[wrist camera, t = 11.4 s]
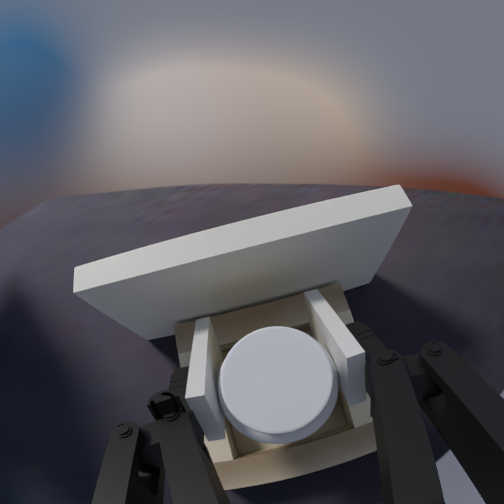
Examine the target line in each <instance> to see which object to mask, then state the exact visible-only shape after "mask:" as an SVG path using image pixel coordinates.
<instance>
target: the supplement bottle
mask: <svg viewBox="0 0 504 504" xmlns="http://www.w3.org/2000/svg"><path fill="white" fill-rule="evenodd" d="M338 388H339V383H338V373H337V369H336V366H335V364H334V361H333V359H332V358H331V356H330V354H329V353H328V352H327V350H326V349H325V348H324V347H323V346H322V345H321V344H320V343H319V342H318V341H316V340H315V339H314V338H312V337H311V336H309V335H308V334H306V333H304V332H302V331H299V330H297V329H294V328H289V327H282V326H273V327H266V328H262V329H258V330H256V331H253V332H252V333H250V334H248V335H246V336H245V337H243V338H242V339H241V340H239V341H238V342H237V343H236V344H235V345H234V346H233V347H232V349H231V350H230V351H229V353H228V355H227V356H226V358H225V360H224V362H223V364H222V366H221V369H220V372H219V376H218V398H219V403H220V406H221V408H222V411H223V412H224V414H225V416H226V418H227V419H228V420H229V422H230V423H231V424H232V425H233V426H234V427H235V428H236V429H237V430H238V431H239V432H241V433H242V434H244V435H245V436H247V437H249V438H251V439H253V440H256V441H259V442H263V443H269V444H286V443H291V442H295V441H298V440H301V439H303V438H305V437H307V436H309V435H311V434H312V433H314V432H315V431H316V430H318V429H319V428H320V427H321V426H322V425H323V424H324V423H325V422H326V420H327V419H328V418H329V416H330V415H331V413H332V411H333V409H334V407H335V404H336V401H337V397H338Z"/></svg>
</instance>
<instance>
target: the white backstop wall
mask: <svg viewBox="0 0 504 504" xmlns="http://www.w3.org/2000/svg"><path fill="white" fill-rule="evenodd" d="M411 208H412V204H411V202H410V201H409V199H408V197H407V196H406V194H405V193H404V191H403V189H402V188H401V186H400V185H395V186H389V187H385V188H380V189H375V190H371V191H366V192H362V193H357V194H352V195H348V196H343V197H339V198H335V199H330V200H326V201H322V202H317V203H313V204H309V205H304V206H300V207H296V208H292V209H288V210H283V211H279V212H275V213H271V214H267V215H263V216H259V217H255V218H251V219H247V220H243V221H239V222H235V223H231V224H227V225H224V226H220V227H216V228H212V229H208V230H204V231H201V232H197V233H193V234H189V235H186V236H182V237H178V238H175V239H171V240H167V241H164V242H160V243H157V244H153V245H149V246H146V247H142V248H139V249H135V250H132V251H128V252H125V253H121V254H118V255H115V256H111V257H108V258H104V259H101V260H98V261H94V262H91V263H88V264H84V265H81V266H78V267H75V269H74V289H73V293H74V294H76V295H77V296H79V297H80V298H82V299H83V300H85V301H86V302H88V303H89V304H90V305H92V306H93V307H95V308H97V309H98V310H100V311H101V312H103V313H104V314H106V315H107V316H109V317H110V318H112V319H114V320H115V321H117V322H118V323H120V324H122V325H123V326H125V327H127V328H128V329H130V330H131V331H133V332H135V333H137V334H138V335H140V336H142V337H143V338H145V339H147V340H151V339H156V338H161V337H166V336H171V335H175V331H174V325H178V324H182V323H187V322H191V321H195V320H197V319H201V318H206V317H213V316H217V315H221V314H225V313H229V312H233V311H237V310H241V309H245V308H249V307H253V306H257V305H261V304H265V303H269V302H272V301H276V300H280V299H284V298H287V297H291V296H295V295H298V294H302V293H304V292H307V291H310V290H314V289H319V288H323V287H326V286H330V285H333V284H337V283H340V284H341V287H342V289H343V291H346V290H349V289H352V288H355V287H358V286H362V285H365V284H368V283H370V282H371V280H372V278H373V277H374V275H375V273H376V272H377V270H378V268H379V267H380V265H381V263H382V261H383V260H384V258H385V256H386V254H387V253H388V251H389V249H390V247H391V246H392V244H393V242H394V240H395V238H396V237H397V235H398V233H399V231H400V229H401V227H402V225H403V223H404V222H405V220H406V218H407V216H408V214H409V212H410V210H411Z"/></svg>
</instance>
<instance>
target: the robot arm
mask: <svg viewBox="0 0 504 504" xmlns="http://www.w3.org/2000/svg"><path fill="white" fill-rule="evenodd" d="M304 296H305V302H306V307H307V313H308V318H309V324H310V329H311V334H312V336H313V337H314V339H315V340H316V341H318V342H319V343H320V344H321V345H322V346H323V347H324V348H325V349H326V350H327V352H328V353H329V354H330V356H331V358H332V359H333V361H334V364H335V366H336V369H337V373H338V383H339V386H340V388H341V390H342V392H343V394H344V396H345V398H346V400H347V401H348V403H349V405H350V406H352V405H355V404H358V403H361V402H363V401H366V392H367V393H368V395H369V397H370V417H372V419H373V425H374V432H375V439H376V446H377V454H378V462H379V471H380V480H381V491H382V502H383V504H445V502H444V498H443V493H442V489H441V484H440V480H439V476H438V471H437V467H436V463H435V459H434V456H433V452H432V448H431V444H430V441H429V437H428V434H427V430H426V427H425V424H424V420H423V417H422V414H421V411H420V408H419V405H420V406H421V408H422V409H423V411H424V412H425V413H426V415H427V416H428V418H429V419H430V420H431V422H432V423H433V425H434V426H435V428H436V429H437V430H438V432H439V433H440V435H441V436H442V438H443V439H444V441H445V442H446V443H447V445H448V446H449V448H450V449H451V451H452V452H453V454H454V455H455V457H456V458H457V460H458V461H459V463H460V464H461V466H462V467H463V469H464V470H465V472H466V473H467V475H468V476H469V478H470V480H471V481H472V482H473V484H474V485H475V487H476V489H477V490H478V492H479V494H480V495H481V497H482V498H483V500H484V502H485V503H486V504H504V399H503V398H502V397H501V396H500V395H499V394H498V393H497V392H496V391H495V390H494V389H493V388H492V387H491V386H490V385H489V384H488V383H487V382H486V381H485V380H484V379H483V378H482V377H481V376H480V375H479V374H478V373H477V372H476V371H475V370H474V369H473V368H472V367H471V366H470V365H469V364H468V363H467V362H466V361H464V360H463V359H462V358H461V357H460V356H459V355H458V354H457V353H456V352H455V351H454V350H453V349H452V348H451V347H450V346H449V345H447V344H446V343H444V342H441V341H430V342H427V343H425V344H424V345H422V347H421V348H420V353H419V354H413V355H407V356H401V355H400V353H399V352H397V351H395V350H390V349H387V348H386V347H385V346H384V345H383V344H382V342H381V341H380V340H379V339H378V338H377V337H376V336H375V335H374V333H373V332H372V331H371V330H370V329H369V328H368V326H367V325H366V324H364V323H361V322H359V321H356V322H353V323H350V324H347V325H344V323H343V322H342V321H341V319H340V318H339V317H338V315H337V314H336V313H335V312H334V310H333V309H332V308H331V306H330V305H329V304H328V303H327V301H326V300H325V299H324V297H323V296H322V295H321V294H320V292H319V291H318V290H317V289H314V290H310V291H307V292H304ZM222 364H223V355H222V352H221V349H220V347H219V344H218V341H217V338H216V335H215V332H214V329H213V326H212V323H211V320H210V317H206V318H201V319H197V320H196V324H195V331H194V337H193V344H192V351H191V358H190V365H189V366H187V367H181V368H177V369H176V370H175V371H174V373H173V374H172V375H171V380H170V385H169V390H165V391H160V392H158V393H156V394H154V395H153V396H152V397H151V398H150V399H149V401H148V403H147V407H148V408H149V410H150V412H151V413H152V415H153V417H154V418H155V420H156V421H154V422H152V423H149V424H147V425H144V426H141V427H139V426H138V425H137V423H135V422H133V421H125V422H122V423H120V424H118V425H116V426H115V427H114V428H113V430H112V432H111V434H110V437H109V441H108V444H107V448H106V451H105V454H104V458H103V462H102V465H101V469H100V472H99V476H98V480H97V484H96V488H95V492H94V496H93V500H92V504H163V494H164V481H165V471H166V476H167V480H168V485H169V489H170V493H171V497H172V501H173V504H230V502H229V500H228V498H227V495H226V493H225V491H224V488H223V486H222V484H221V481H220V479H219V476H218V474H217V472H216V469H215V467H214V464H213V461H212V459H211V456H210V454H209V451H208V448H207V447H206V445H205V443H204V435H205V437H206V439H207V440H208V442H209V441H215V440H222V439H225V415H224V412H223V411H222V408H221V406H220V403H219V398H218V376H219V372H220V369H221V366H222ZM418 404H419V405H418Z"/></svg>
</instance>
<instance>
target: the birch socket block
mask: <svg viewBox="0 0 504 504" xmlns="http://www.w3.org/2000/svg"><path fill="white" fill-rule="evenodd" d="M317 290H318V291H319V292H320V294H321V295H322V296H323V297H324V299H325V300H326V301H327V303H328V304H329V305H330V306H331V308H332V309H333V310H334V312H335V313H336V314H337V315H338V317H339V318H340V319H341V321H342V322H343V323H344V325H347V324H350V323H353V322H354V320H353V317H352V314H351V311H350V308H349V306H348V303H347V300H346V297H345V295H344V292H343V289H342V287H341V284H340V283H337V284H333V285H330V286H326V287H323V288H319V289H317ZM210 320H211V323H212V326H213V329H214V332H215V335H216V338H217V341H218V344H219V347H220V349H221V352H222V355H223V362H224V360H225V358H226V356H227V355H228V353H229V351H230V350H231V349H232V347H233V346H234V345H235V344H236V343H237V342H238V341H239V340H241V339H242V338H243V337H245V336H246V335H248V334H250V333H252V332H253V331H256V330H258V329H262V328H266V327H273V326H282V327H289V328H294V329H297V330H299V331H302V332H304V333H306V334H308V335H309V336H311V337H312V338H314V337H313V336H312V334H311V329H310V324H309V318H308V313H307V307H306V302H305V296H304V293H302V294H298V295H295V296H291V297H287V298H284V299H280V300H276V301H272V302H269V303H265V304H261V305H257V306H253V307H249V308H245V309H241V310H237V311H233V312H229V313H225V314H221V315H217V316H213V317H210ZM195 324H196V320H195V321H191V322H187V323H182V324H178V325H174V331H175V337H176V344H177V350H178V356H179V362H180V367H187V366H189V365H190V358H191V351H192V344H193V337H194V331H195ZM224 415H225V414H224ZM204 443H205V445H206V447H207V448H208V451H209V454H210V456H211V459H212V461H213V464H214V467H215V469H216V472H217V474H218V476H219V479H220V481H221V484H222V486H223V488H224V490H229V489H236V488H243V487H249V486H255V485H260V484H266V483H271V482H275V481H280V480H284V479H289V478H293V477H297V476H301V475H305V474H308V473H312V472H315V471H319V470H322V469H326V468H329V467H332V466H335V465H338V464H341V463H344V462H347V461H350V460H353V459H355V458H358V457H361V456H363V455H366V454H369V453H371V452H374V451H376V450H377V446H376V439H375V432H374V425H373V419H372V417H370V397H369V395H368V393H367V392H366V401H363V402H361V403H358V404H355V405H352V406H350V405H349V403H348V401H347V400H346V398H345V396H344V394H343V392H342V390H341V388H340V386H339V388H338V397H337V401H336V404H335V407H334V409H333V411H332V413H331V415H330V416H329V418H328V419H327V420H326V422H325V423H324V424H323V425H322V426H321V427H320V428H319V429H318V430H316V431H315V432H314V433H312V434H311V435H309V436H307V437H305V438H303V439H301V440H298V441H295V442H291V443H286V444H269V443H263V442H259V441H256V440H253V439H251V438H249V437H247V436H245V435H244V434H242V433H241V432H239V431H238V430H237V429H236V428H235V427H234V426H233V425H232V424H231V423H230V422H229V420H228V419H227V418H226V416H225V439H222V440H215V441H209V442H208V440H207V439H206V437H205V435H204Z"/></svg>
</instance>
